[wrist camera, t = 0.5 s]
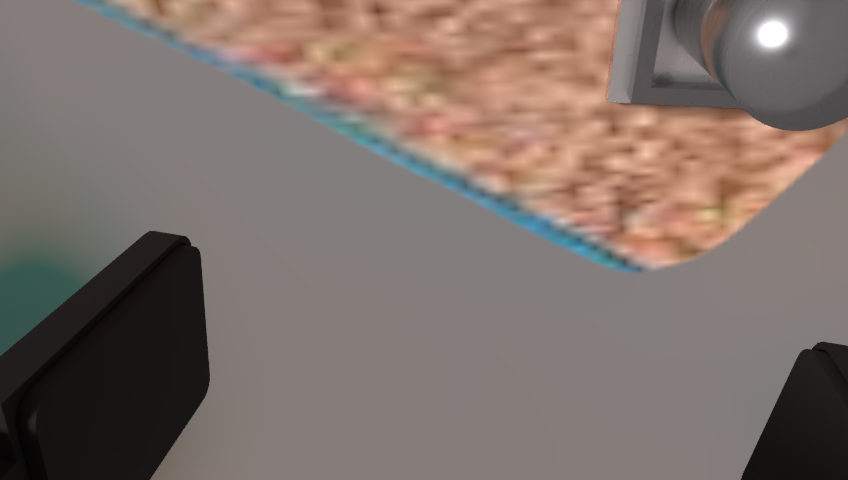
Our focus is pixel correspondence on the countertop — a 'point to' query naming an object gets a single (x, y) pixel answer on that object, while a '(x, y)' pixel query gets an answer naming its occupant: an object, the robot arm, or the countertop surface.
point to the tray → (657, 61)
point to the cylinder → (773, 56)
